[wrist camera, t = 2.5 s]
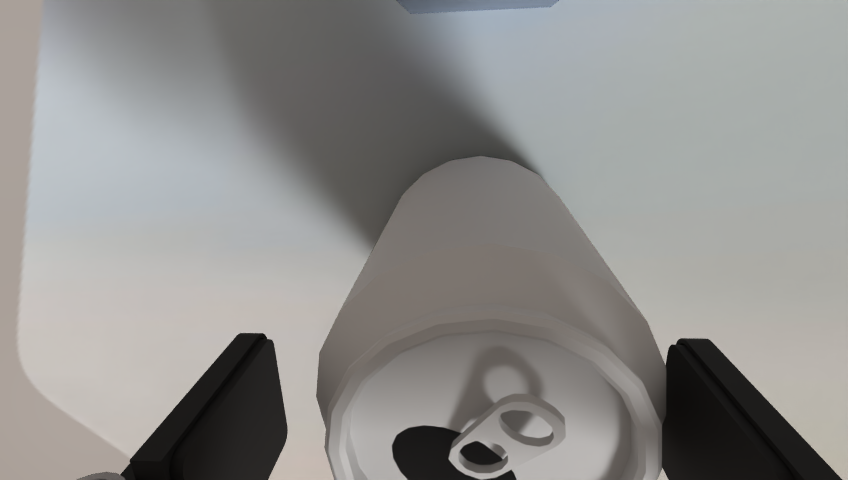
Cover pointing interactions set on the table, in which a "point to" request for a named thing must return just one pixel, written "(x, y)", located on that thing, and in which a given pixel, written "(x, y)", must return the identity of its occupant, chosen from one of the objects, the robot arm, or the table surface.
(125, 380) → the table surface
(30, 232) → the table surface
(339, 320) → the can
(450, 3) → the slate block
